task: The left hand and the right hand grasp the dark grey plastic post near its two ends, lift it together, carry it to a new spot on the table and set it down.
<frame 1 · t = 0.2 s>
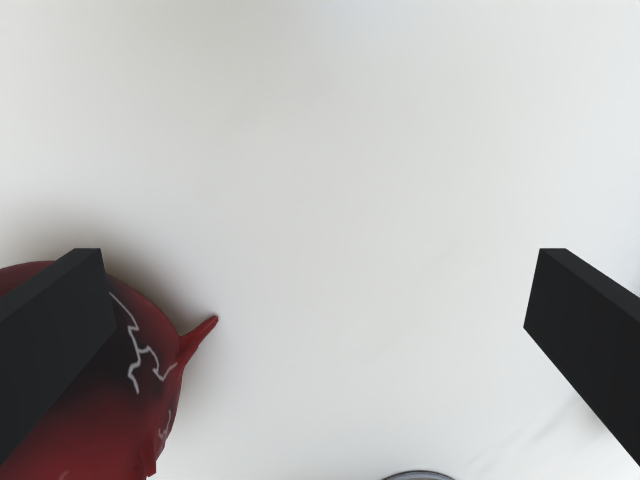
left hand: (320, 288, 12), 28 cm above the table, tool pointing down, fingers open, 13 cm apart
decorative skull: (100, 338, 46), on the table
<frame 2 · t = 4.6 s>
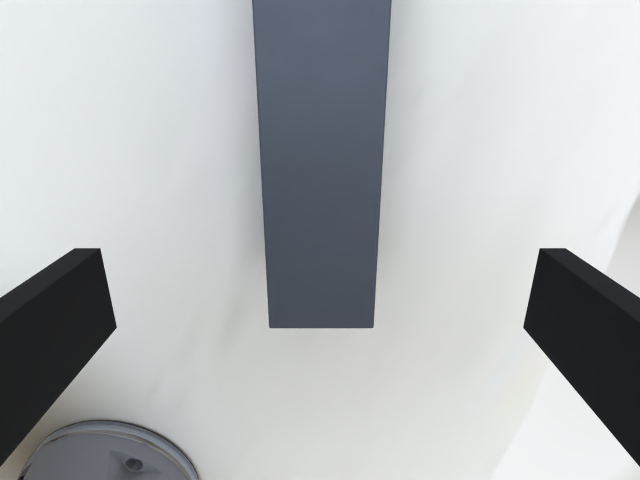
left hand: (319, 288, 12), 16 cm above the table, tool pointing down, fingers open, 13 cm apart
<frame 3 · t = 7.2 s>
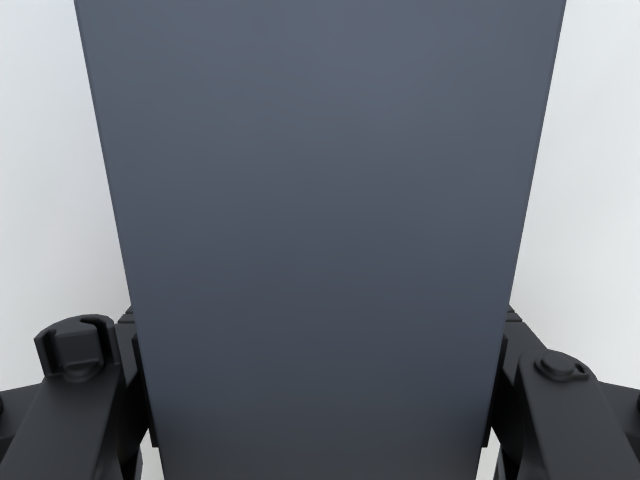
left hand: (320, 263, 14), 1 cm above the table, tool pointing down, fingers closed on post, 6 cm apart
when the left hand's fingers open (2 cm above the table, at t = 11.1 s): post stays where it is, on the table.
when the right hand's fingers open (4 cm above the table, at t = 11.3 s): post stays where it is, on the table.
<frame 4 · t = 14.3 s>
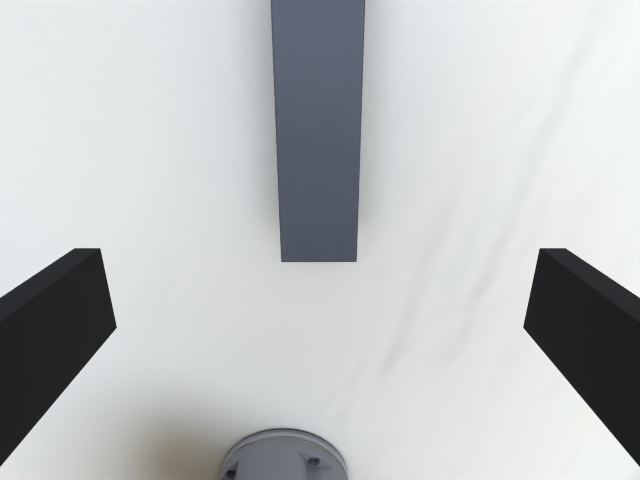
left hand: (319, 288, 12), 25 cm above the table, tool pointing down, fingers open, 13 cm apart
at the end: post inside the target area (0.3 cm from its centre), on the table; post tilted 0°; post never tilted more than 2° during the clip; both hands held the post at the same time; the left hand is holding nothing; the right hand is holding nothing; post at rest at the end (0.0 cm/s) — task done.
